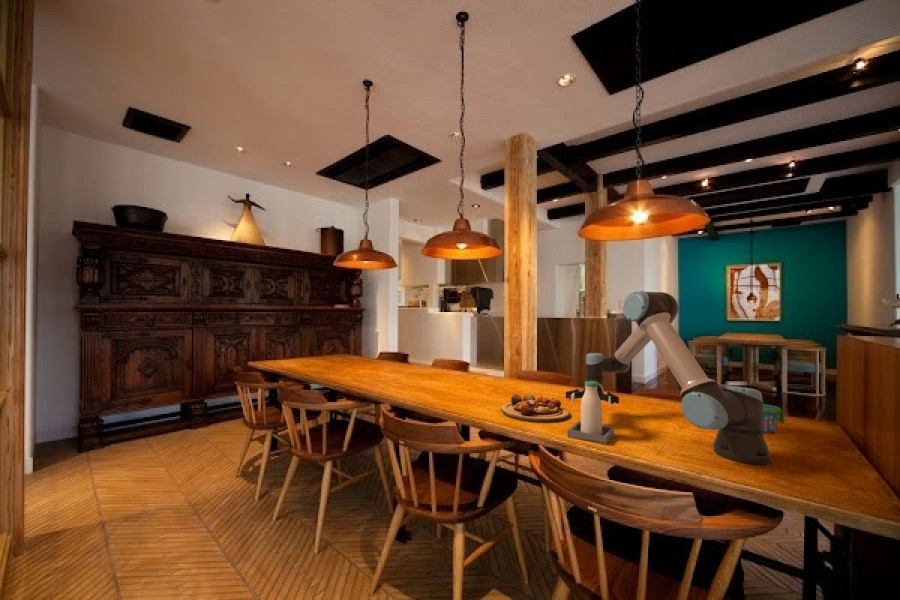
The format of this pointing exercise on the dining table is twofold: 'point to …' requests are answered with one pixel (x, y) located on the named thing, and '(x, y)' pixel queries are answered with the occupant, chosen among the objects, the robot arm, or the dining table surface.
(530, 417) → the wooden plate with food
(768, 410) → the snack cup
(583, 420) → the milk bottle
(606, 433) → the bottle tray
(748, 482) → the dining table surface
